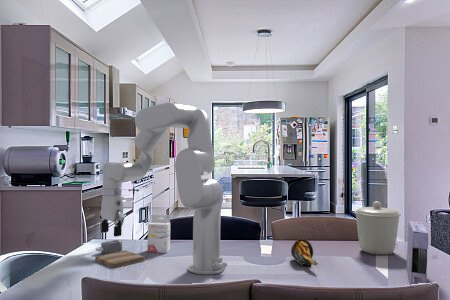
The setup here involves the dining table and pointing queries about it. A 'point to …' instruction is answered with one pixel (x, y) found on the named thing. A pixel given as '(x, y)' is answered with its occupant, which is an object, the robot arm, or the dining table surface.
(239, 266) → the dining table surface
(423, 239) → the cake pan box
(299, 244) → the fried shrimp in bowl
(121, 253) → the walnut board
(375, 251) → the canister
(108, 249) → the grey double dome block
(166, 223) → the ink cartridge box
